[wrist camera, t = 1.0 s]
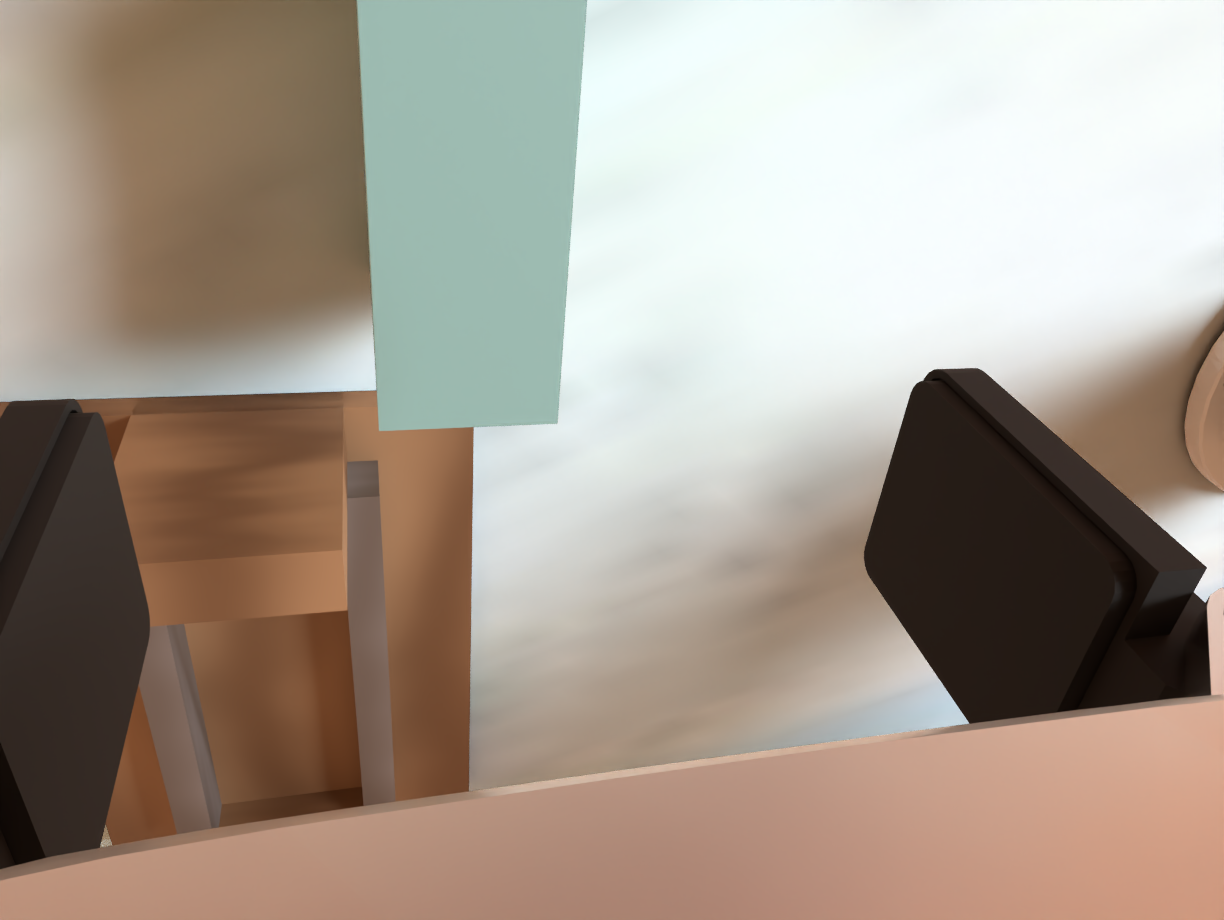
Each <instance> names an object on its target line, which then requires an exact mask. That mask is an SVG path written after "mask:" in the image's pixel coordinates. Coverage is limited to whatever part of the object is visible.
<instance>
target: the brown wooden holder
mask: <svg viewBox="0 0 1224 920" xmlns="http://www.w3.org/2000/svg"><path fill="white" fill-rule="evenodd" d="M76 401H77V402H78V403H79V405H80V407H81V408H82V411H83V413H89V412H98V413H99V414H100V415H101V417H102V419H103V421H104V425H105V428H106V432H107V437H108V441H109V445H110V449H111V453H112V457H113V462H114V466H115V470H116V474H117V478H118V482H119V487H120V491H121V495H122V499H123V503H124V507H125V512H126V516H127V520H128V524H129V528H130V532H131V536H132V541H133V545H134V549H135V553H136V557H137V561H138V566H139V570H140V574H141V578H142V582H143V586H144V591H145V595H146V599H147V603H148V608H149V615H150V636H149V642H148V647H147V651H146V655H145V659H144V663H143V668H142V672H141V676H140V680H139V684H138V689H137V693H136V697H135V701H134V706H133V710H132V714H131V718H130V722H129V727H128V731H127V735H126V739H125V743H124V748H123V752H122V756H121V760H120V764H119V769H118V773H117V777H116V781H115V785H114V790H113V794H112V798H111V802H110V807H109V811H108V815H107V819H106V826H107V829H108V832H109V835H110V839H111V842H112V845H119V844H124V843H130V842H135V841H141V840H147V839H152V838H158V837H164V836H170V835H176V834H182V833H188V832H194V831H200V830H206V829H212V828H219V827H225V826H232V825H239V824H246V823H252V822H259V821H266V820H272V819H279V818H286V817H292V816H299V815H306V814H313V813H319V812H326V811H333V810H339V809H347V808H354V807H361V806H368V805H375V804H382V803H389V802H397V801H404V800H411V799H418V798H425V797H432V796H439V795H446V794H454V793H461V792H468V791H469V723H470V648H471V574H472V499H473V427H465V428H441V429H417V430H394V431H379V423H378V405H377V391H351V392H319V393H287V394H254V395H222V396H190V397H157V398H125V399H93V400H76ZM9 403H10V402H0V417H1V416H2V414H3V412H4V410H5V409H6V407H7V406H8V405H9Z"/></svg>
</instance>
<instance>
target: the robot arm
mask: <svg viewBox="0 0 1224 920" xmlns="http://www.w3.org/2000/svg"><path fill="white" fill-rule="evenodd" d="M1185 439H1186V447H1187V450H1188V452H1189V455H1190V458H1191V461H1192V463H1193V464H1194V465H1195V466H1196V468H1197V469H1198V470H1199V471H1200V473H1201V474H1202V475H1203V476H1204V477H1205V478H1207V479H1208V480H1209V481H1211V482H1212V483H1213V484H1214V485H1216V486H1217V487H1218V488H1219V489H1221V490H1222V491H1224V331H1223V332H1222V334H1221V335H1220V336H1219V338H1218V339H1217V341H1216V342H1215V344H1214V345H1213V346H1212V348H1211V350H1210V352H1209V354H1208V356H1207V357H1206V359H1205V361H1204V363H1203V365H1202V367H1201V369H1200V371H1199V373H1198V375H1197V377H1196V380H1195V383H1194V386H1193V389H1192V392H1191V394H1190V397H1189V400H1188V406H1187V412H1186V419H1185ZM864 561H865V567H866V570H867V573H868V575H869V577H870V578H871V580H872V581H873V583H874V584H875V586H876V587H877V589H878V590H879V592H880V593H881V594H882V596H883V597H884V599H885V600H886V602H887V603H888V605H889V606H890V608H891V609H892V611H893V612H894V613H895V615H896V616H897V618H898V619H899V621H900V622H901V624H902V625H903V627H904V628H905V630H906V631H907V633H908V634H909V635H910V637H911V638H912V640H913V641H914V643H915V644H916V646H917V647H918V649H919V650H920V652H921V653H922V654H923V656H924V657H925V659H926V660H927V662H928V663H929V665H930V666H931V668H932V669H933V671H934V672H935V673H936V675H937V676H938V678H939V679H940V681H941V682H942V684H943V685H944V687H945V688H946V690H947V691H948V693H949V694H950V695H951V697H952V698H953V700H954V701H955V703H956V704H957V706H958V707H959V709H960V710H961V712H962V713H963V714H964V716H965V717H966V719H967V720H968V722H969V723H970V724H964V725H956V726H949V727H941V728H933V729H925V730H918V731H910V732H902V733H894V734H886V735H879V736H871V737H864V738H856V739H849V740H841V741H834V742H826V743H819V744H811V745H804V746H796V747H789V748H781V749H774V750H766V751H759V752H751V753H744V754H736V755H729V756H722V757H714V758H707V759H699V760H692V761H685V762H677V763H670V764H663V765H655V766H648V767H640V768H633V769H626V770H618V771H611V772H604V773H596V774H589V775H582V776H575V777H568V778H561V779H553V780H546V781H539V782H532V783H525V784H518V785H511V786H504V787H496V788H489V789H482V790H475V791H468V792H461V793H454V794H446V795H439V796H432V797H425V798H418V799H411V800H404V801H397V802H389V803H382V804H375V805H368V806H361V807H354V808H347V809H339V810H333V811H326V812H319V813H313V814H306V815H299V816H292V817H286V818H279V819H272V820H266V821H259V822H252V823H246V824H239V825H232V826H225V827H219V828H212V829H206V830H200V831H194V832H188V833H182V834H176V835H170V836H164V837H158V838H152V839H147V840H141V841H135V842H130V843H124V844H119V845H113V846H108V847H102V848H100V844H101V840H102V836H103V832H104V828H105V823H106V819H107V815H108V811H109V807H110V802H111V798H112V794H113V790H114V785H115V781H116V777H117V773H118V769H119V764H120V760H121V756H122V752H123V748H124V743H125V739H126V735H127V731H128V727H129V722H130V718H131V714H132V710H133V706H134V701H135V697H136V693H137V689H138V684H139V680H140V676H141V672H142V668H143V663H144V659H145V655H146V651H147V647H148V642H149V636H150V615H149V608H148V603H147V599H146V595H145V591H144V586H143V582H142V578H141V574H140V570H139V566H138V561H137V557H136V553H135V549H134V545H133V541H132V536H131V532H130V528H129V524H128V520H127V516H126V512H125V507H124V503H123V499H122V495H121V491H120V487H119V482H118V478H117V474H116V470H115V466H114V462H113V457H112V453H111V449H110V445H109V441H108V437H107V432H106V428H105V425H104V421H103V419H102V417H101V415H100V414H99V413H98V412H89V413H83V411H82V408H81V407H80V405H79V403H78V402H77V401H76V400H75V399H62V400H33V401H13V402H10V403H9V405H8V406H7V407H6V409H5V410H4V412H3V414H2V416H1V417H0V920H1224V588H1220V589H1218V590H1217V591H1215V592H1214V593H1213V594H1211V595H1210V596H1209V598H1208V600H1207V602H1206V603H1205V602H1203V601H1202V600H1201V599H1200V598H1199V597H1198V596H1197V595H1196V594H1195V593H1194V590H1195V588H1196V586H1197V585H1198V583H1199V581H1200V579H1201V578H1202V576H1203V574H1204V572H1205V570H1206V569H1207V567H1206V566H1204V565H1203V564H1202V563H1201V562H1200V561H1199V560H1198V559H1196V558H1195V557H1194V556H1193V555H1192V554H1191V553H1190V552H1189V551H1187V550H1186V549H1185V548H1184V547H1183V546H1182V545H1181V544H1179V543H1178V542H1177V541H1176V540H1175V539H1174V538H1173V537H1171V536H1170V535H1169V534H1168V533H1167V532H1166V531H1165V530H1163V529H1162V528H1161V527H1160V526H1159V525H1158V524H1157V523H1156V522H1154V521H1153V520H1152V519H1151V518H1150V517H1149V516H1148V515H1146V514H1145V513H1144V512H1143V511H1142V510H1141V509H1140V508H1138V507H1137V506H1136V505H1135V504H1134V503H1133V502H1132V501H1131V500H1129V499H1128V498H1127V497H1126V496H1125V495H1124V494H1123V493H1121V492H1120V491H1119V490H1118V489H1117V488H1116V487H1115V486H1113V485H1112V484H1111V483H1110V482H1109V481H1108V480H1107V479H1105V478H1104V477H1103V476H1102V475H1101V474H1100V473H1099V472H1098V471H1096V470H1095V469H1094V468H1093V467H1092V466H1091V465H1090V464H1088V463H1087V462H1086V461H1085V460H1084V459H1083V458H1082V457H1080V456H1079V455H1078V454H1077V453H1076V452H1075V451H1074V450H1072V449H1071V448H1070V447H1069V446H1068V445H1067V444H1066V443H1065V442H1063V441H1062V440H1061V439H1060V438H1059V437H1058V436H1057V435H1055V434H1054V433H1053V432H1052V431H1051V430H1050V429H1049V428H1047V427H1046V426H1045V425H1044V424H1043V423H1042V422H1041V421H1040V420H1038V419H1037V418H1036V417H1035V416H1034V415H1033V414H1032V413H1030V412H1029V411H1028V410H1027V409H1026V408H1025V407H1024V406H1022V405H1021V404H1020V403H1019V402H1018V401H1017V400H1016V399H1014V398H1013V397H1012V396H1011V395H1010V394H1009V393H1008V392H1007V391H1005V390H1004V389H1003V388H1002V387H1001V386H1000V385H999V384H997V383H996V382H995V381H994V380H993V379H992V378H991V377H989V376H988V375H987V374H986V373H985V372H983V371H982V370H980V369H978V368H965V369H936V370H933V371H931V372H929V373H928V375H927V376H926V377H925V378H924V380H923V381H921V382H919V383H917V384H916V385H915V386H914V387H913V390H912V392H911V394H910V398H909V401H908V404H907V408H906V411H905V415H904V418H903V421H902V425H901V428H900V431H899V435H898V438H897V441H896V445H895V448H894V452H893V455H892V458H891V462H890V465H889V468H888V472H887V475H886V478H885V482H884V485H883V488H882V492H881V495H880V499H879V502H878V505H877V509H876V512H875V515H874V519H873V522H872V525H871V529H870V532H869V536H868V539H867V542H866V546H865V551H864Z"/></svg>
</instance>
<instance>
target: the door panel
mask: <svg viewBox="0 0 1224 920" xmlns="http://www.w3.org/2000/svg"><path fill="white" fill-rule="evenodd" d="M586 7H587V0H356V10H357V30H358V49H359V69H360V89H361V108H362V128H363V147H364V167H365V186H366V206H367V226H368V245H369V265H370V283H371V300H372V318H373V335H374V353H375V370H376V388H377V405H378V423H379V431H394V430H417V429H441V428H465V427H488V426H512V425H536V424H557V422H558V408H559V393H560V379H561V365H562V350H563V336H564V322H565V308H566V293H567V279H568V265H569V250H570V236H571V222H572V207H573V193H574V179H575V165H576V150H577V136H578V122H579V107H580V93H581V79H582V65H583V50H584V36H585V22H586Z"/></svg>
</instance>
